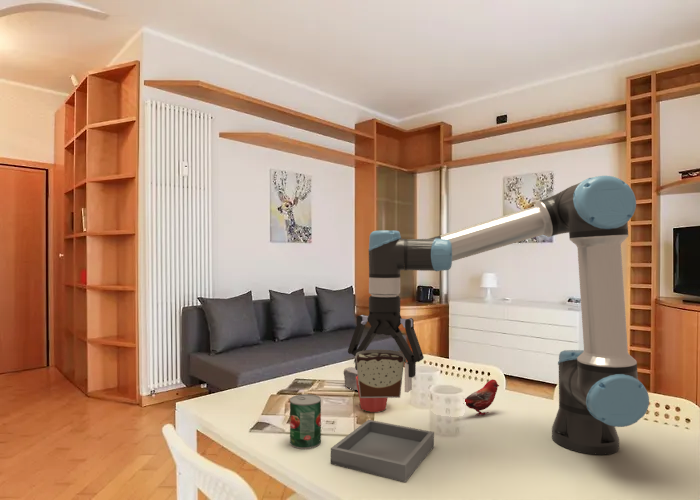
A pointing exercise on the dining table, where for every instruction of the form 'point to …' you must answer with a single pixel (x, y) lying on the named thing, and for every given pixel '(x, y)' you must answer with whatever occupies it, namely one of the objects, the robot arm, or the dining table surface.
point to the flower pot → (372, 402)
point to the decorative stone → (350, 378)
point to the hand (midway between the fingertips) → (384, 387)
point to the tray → (383, 449)
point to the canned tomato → (305, 421)
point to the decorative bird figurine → (482, 397)
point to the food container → (380, 373)
